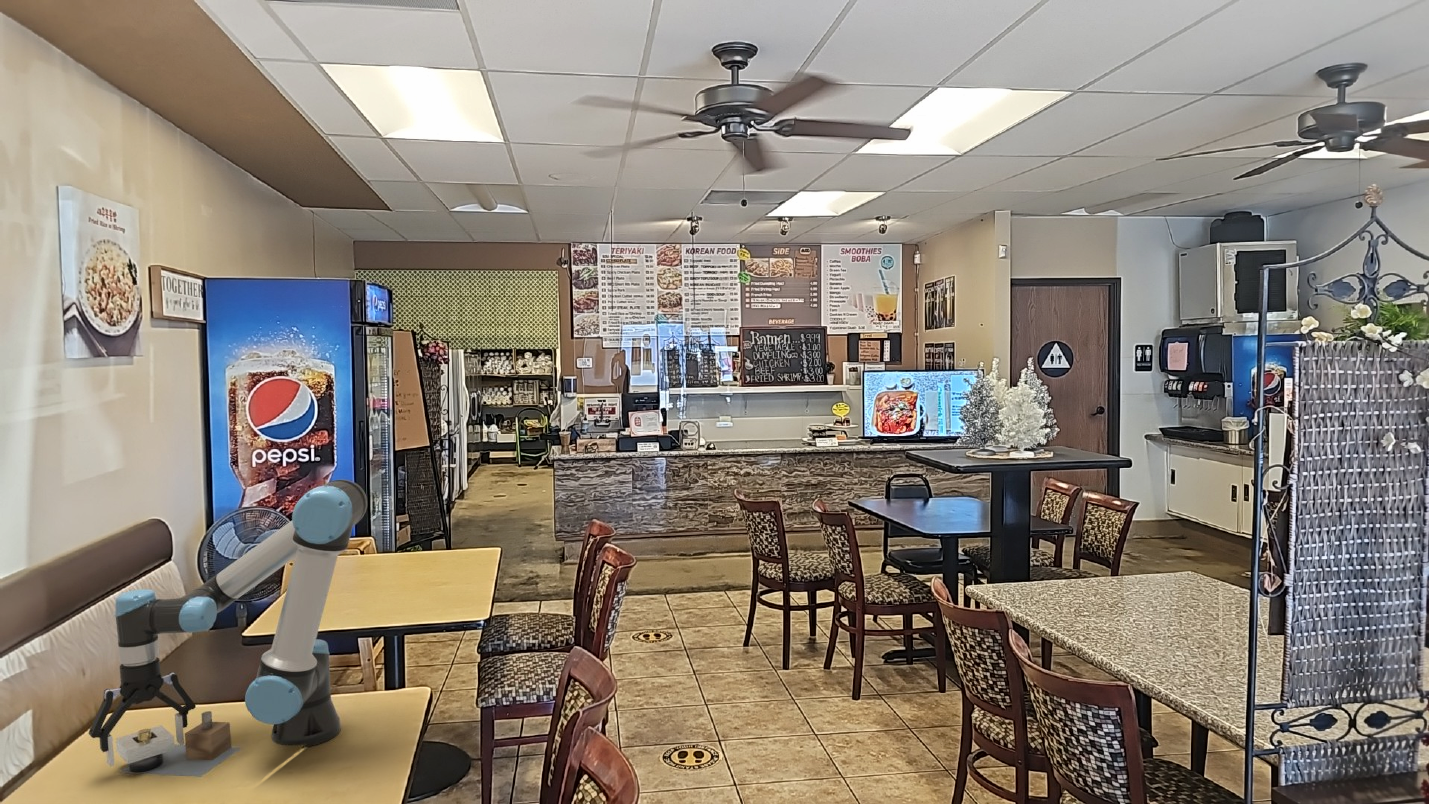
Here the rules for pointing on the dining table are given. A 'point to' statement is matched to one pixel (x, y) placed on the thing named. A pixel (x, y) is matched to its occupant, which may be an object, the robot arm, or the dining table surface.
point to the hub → (148, 762)
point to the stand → (207, 739)
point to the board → (185, 763)
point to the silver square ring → (145, 745)
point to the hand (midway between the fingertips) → (146, 753)
